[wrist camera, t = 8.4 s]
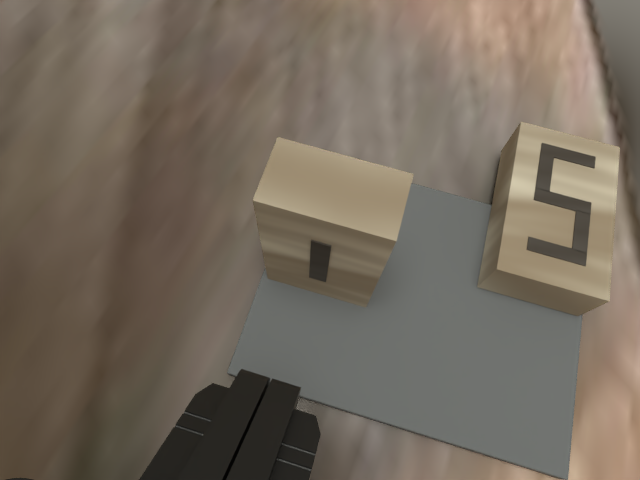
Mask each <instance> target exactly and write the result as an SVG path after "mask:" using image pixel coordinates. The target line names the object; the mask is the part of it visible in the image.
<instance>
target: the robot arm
mask: <svg viewBox="0 0 640 480" xmlns="http://www.w3.org/2000/svg"><path fill="white" fill-rule="evenodd" d="M300 391H301V387H298V386H295V385H292V384H289V383H286V382H283V381H279V380H276V379H273V378H272V380H271V381H270V378H269V377H266V376H263V375H260V374H257V373H253V372H250V371H247V370H244V369H241V370H240V371H239V372H238V374H237V376H236V378H235V380H234V381H233V383H232V385H231V387H230V388H226V387H223V386H220V385H217V384H214V383H212V384H211V385H209V386H208V387H206V388H205V389H203V390H202V391H200V392H198V393H197V394H195V396H194V397H193V399H192V400H191V402H190V403H189V405H188V406H187V408H186V410H185V412H184V414H182V416H181V417H180V419H179V420H178V422H177V423H176V426H175V428H173V429H172V431H171V432H170V434H169V435H168V437H167V438H166V440H165V441H164V443H163V445H162V446H161V448H160V449H159V451H158V452H157V454H156V455H155V457H154V458H153V460H152V461H151V463H150V464H149V466H148V467H147V469H146V470H145V472H144V473H143V475H142V476H141V478H140V479H139V480H309V477H310V473H311V469H312V466H313V462H314V458H315V454H316V450H317V446H318V442H319V438H320V431H319V427H318V423H317V418H316V416H315V415H312V414H308V413H305V412H302V411H299V410H296V406H297V402H298V398H299V395H300ZM7 480H32V479H27V478H12V479H7Z"/></svg>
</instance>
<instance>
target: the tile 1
mask: <svg viewBox="0 0 640 480" xmlns="http://www.w3.org/2000/svg"><path fill="white" fill-rule="evenodd" d="M413 175H414V174H411V173H408V172H404V171H400V170H397V169H393V168H389V167H386V166H382V165H378V164H375V163H371V162H367V161H364V160H360V159H356V158H353V157H349V156H345V155H342V154H338V153H334V152H331V151H327V150H323V149H320V148H316V147H312V146H309V145H305V144H301V143H298V142H294V141H290V140H287V139H283V138H279V137H278V138H277V140H276V143H275V145H274V148H273V150H272V153H271V155H270V158H269V160H268V163H267V165H266V168H265V171H264V173H263V176H262V178H261V181H260V183H259V186H258V188H257V191H256V193H255V196H254V198H253V205H254V210H255V215H256V220H257V226H258V231H259V236H260V241H261V246H262V252H263V257H264V262H265V267H266V273H267V278H268V279H271V280H274V281H278V282H281V283H284V284H288V285H291V286H294V287H298V288H301V289H305V290H308V291H311V292H315V293H318V294H321V295H325V296H328V297H332V298H335V299H338V300H342V301H345V302H348V303H352V304H355V305H358V306H362V307H365V308H366V306H367V304H368V302H369V300H370V297H371V295H372V293H373V291H374V289H375V287H376V284H377V282H378V280H379V278H380V276H381V274H382V271H383V269H384V267H385V265H386V263H387V261H388V259H389V256H390V254H391V252H392V250H393V248H394V246H395V243H396V241H397V237H398V233H399V229H400V225H401V222H402V218H403V214H404V210H405V206H406V202H407V198H408V194H409V190H410V186H411V183H412V179H413Z"/></svg>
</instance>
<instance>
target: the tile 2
mask: <svg viewBox="0 0 640 480" xmlns="http://www.w3.org/2000/svg"><path fill="white" fill-rule="evenodd" d="M619 151H620V147H617V146H613V145H609V144H605V143H601V142H598V141H594V140H590V139H586V138H582V137H578V136H574V135H571V134H567V133H563V132H559V131H555V130H551V129H548V128H544V127H540V126H536V125H532V124H528V123H524V122H521V123H520V124H519V125H518V127H517V128H516V130H515V131H514V133H513V134H512V136H511V137H510V139H509V140H508V142H507V143H506V145H505V146H504V148H503V149H502V151H501V157H500V162H499V168H498V173H497V179H496V185H495V190H494V196H493V201H492V207H491V212H490V218H489V224H488V229H487V235H486V240H485V246H484V252H483V257H482V263H481V268H480V274H479V279H478V285H477V287H478V288H482V289H485V290H489V291H492V292H496V293H499V294H502V295H506V296H509V297H513V298H516V299H520V300H523V301H527V302H530V303H534V304H537V305H541V306H544V307H548V308H551V309H554V310H558V311H561V312H565V313H568V314H572V315H575V316H580V315H582V314H584V313H586V312H588V311H590V310H592V309H594V308H596V307H598V306H601V305H603V304H605V303H607V302H609V300H610V285H611V270H612V255H613V240H614V226H615V211H616V196H617V181H618V166H619Z"/></svg>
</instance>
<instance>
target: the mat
mask: <svg viewBox="0 0 640 480" xmlns="http://www.w3.org/2000/svg"><path fill="white" fill-rule="evenodd" d="M491 207H492V205H489V204H486V203H482V202H479V201H475V200H471V199H468V198H464V197H460V196H457V195H453V194H449V193H446V192H442V191H438V190H435V189H431V188H428V187H424V186H420V185H417V184H413V183H411V186H410V190H409V194H408V198H407V202H406V206H405V210H404V214H403V218H402V222H401V225H400V229H399V233H398V237H397V241H396V243H395V246H394V248H393V250H392V252H391V254H390V256H389V259H388V261H387V263H386V265H385V267H384V269H383V271H382V274H381V276H380V278H379V280H378V282H377V284H376V287H375V289H374V291H373V293H372V295H371V297H370V300H369V302H368V304H367V306H366V308H365V307H362V306H358V305H355V304H352V303H348V302H345V301H342V300H338V299H335V298H332V297H328V296H325V295H321V294H318V293H315V292H311V291H308V290H305V289H301V288H298V287H294V286H291V285H288V284H284V283H281V282H278V281H274V280H271V279H268V278H267V273H266V267H265V270H264V272H263V275H262V278H261V281H260V283H259V286H258V289H257V292H256V294H255V297H254V300H253V303H252V306H251V308H250V311H249V314H248V317H247V319H246V322H245V325H244V328H243V330H242V333H241V336H240V339H239V341H238V344H237V347H236V350H235V352H234V355H233V358H232V361H231V363H230V366H229V369H228V372H227V373H228V374H229V375H232V376H235V377H236V376H237V374H238V372H239V371H240V370H241V369H244V370H247V371H250V372H253V373H257V374H260V375H263V376H266V377H269V378H270V381H271V380H272V378H273V379H276V380H279V381H283V382H286V383H289V384H292V385H295V386H298V387H301V391H300V395H299V397H301V398H305V399H308V400H311V401H314V402H317V403H321V404H324V405H327V406H330V407H333V408H336V409H340V410H343V411H346V412H349V413H352V414H355V415H359V416H362V417H365V418H368V419H371V420H375V421H378V422H381V423H384V424H387V425H390V426H394V427H397V428H400V429H403V430H406V431H410V432H413V433H416V434H419V435H422V436H425V437H429V438H432V439H435V440H438V441H441V442H444V443H448V444H451V445H454V446H457V447H460V448H464V449H467V450H470V451H473V452H476V453H479V454H483V455H486V456H489V457H492V458H495V459H498V460H502V461H505V462H508V463H511V464H514V465H518V466H521V467H524V468H527V469H530V470H533V471H537V472H540V473H543V474H546V475H549V476H552V477H556V478H559V479H565V480H568V472H569V461H570V450H571V438H572V427H573V416H574V405H575V393H576V382H577V371H578V359H579V348H580V337H581V326H582V315H580V316H575V315H572V314H568V313H565V312H561V311H558V310H554V309H551V308H548V307H544V306H541V305H537V304H534V303H530V302H527V301H523V300H520V299H516V298H513V297H509V296H506V295H502V294H499V293H496V292H492V291H489V290H485V289H482V288H478V287H477V285H478V279H479V274H480V268H481V263H482V257H483V252H484V246H485V240H486V235H487V229H488V224H489V218H490V212H491Z"/></svg>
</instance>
